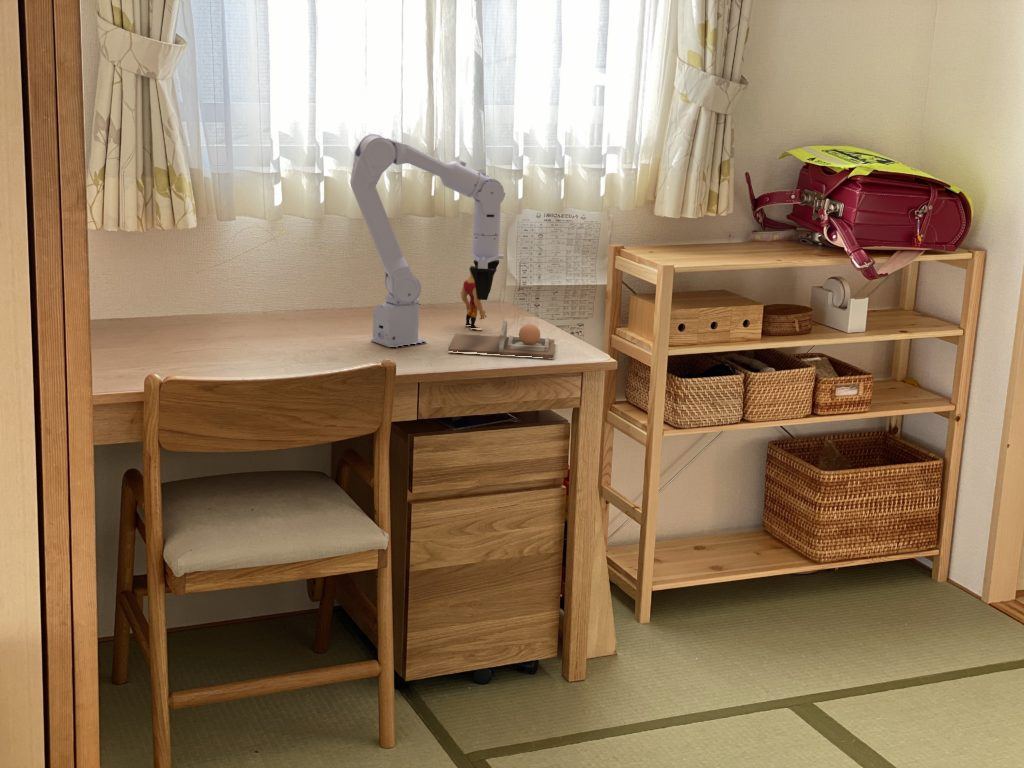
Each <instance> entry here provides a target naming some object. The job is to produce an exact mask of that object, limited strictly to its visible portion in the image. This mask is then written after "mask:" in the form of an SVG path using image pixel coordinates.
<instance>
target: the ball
mask: <svg viewBox="0 0 1024 768" xmlns="http://www.w3.org/2000/svg"><path fill="white" fill-rule="evenodd" d="M518 336H519V338H520V341H521V342H522V343H523V344H525V345H534V344H536V343H537V342H538V341H539V339H540V338H541V331H540V329H539V327H538V326H536V325H535V324H532V323H527V324H524V325H523V326H522V327H521V328H520V329H519V332H518Z"/></svg>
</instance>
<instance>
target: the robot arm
mask: <svg viewBox="0 0 1024 768" xmlns="http://www.w3.org/2000/svg"><path fill="white" fill-rule="evenodd" d="M458 161H459V162H458ZM458 161H457V160H452V161H449V162H446V163H445V162H443V161H441V160H439V159H437V158H436V157H434V156H431V155H429V154H427V153H425V152H424V151H421V150H419V149H418V148H415V147H413V146H411V145H410V144H407V143H404V142H402V141H397V140H395V139H391V138H388V137H382V136H381V135H380V134H375V133H374V134H373V133H370V134H368V135H365V136H364V137H363V138H362V139H361V140H360V141H359V143H358V145H357V147H356V148H355V151H354V157H353V165H352V169H351V174H350V181H349V182H350V184H349V185H350V187H351V189H352V193H353V195H354V197H355V199H356V202H357V205H358V207H359V210H360V212H361V214H362V217H363V220H364V222H365V224H366V227H367V229H368V231H369V234H370V237H371V239H372V241H373V243H374V247H375V249H376V251H377V254H378V256H379V259H380V261H381V264H382V265H381V266H382V269H383V272H384V286H385V289H386V290H387V291H388V294H387V295H386V297H385V301H384V302H383V303H381V304H380V303H379V304H378V305H376V306H375V308H374V310H373V313H372V315H373V316H372V338H370V341H371V342H373V343H377V344H378V345H382V346H385V347H387V348H390V347H396V348H399V347H398V346H402V347H404V346H403V345H408V346H410V345H409V344H414V343H420V342H426V341H427V340H426V339H423V338H421V337H419V326H420V325H419V322H420V314H419V313H420V299H419V297H420V296H421V293H422V285H421V282H420V280H419V278H418V277H417V276H415V275H414V274H413V272H412V271H411V268H410V266H409V265H408V263H407V260H406V258H405V257H404V254H403V252H402V250H401V247H400V244H399V241H398V240H397V236H396V235H395V232H394V230H393V227H392V225H391V222H390V220H389V217H388V215H387V212H386V209H385V207H384V205H383V202H382V199H381V197H380V195H379V192H378V190H377V189H378V188H377V184H378V182H379V181H380V179H381V176H382V175H383V173H385V171H386V170H388V168H389V167H391V166H392V164H394V165H396V166H399V165H403V164H409V165H411V166H414V167H416V168H418V169H421V170H423V171H426V172H428V173H430V174H433V175H435V176H437V177H439V178H440V179H441V183H442V185H443V186H444V187H446V188H448V189H450V190H452V191H455V192H456V193H459V194H461V195H464V196H466V197H468V198H473V200H474V208H473V209H474V211H473V226H472V228H473V229H472V247H471V248H472V249H471V251H472V252H471V254H470V257H471V259H473V264H474V265H475V266H473V265H470V267H469V268H470V270H469V272H470V271H471V273H472V275H473V278H474V282H475V287H476V295H477V299H478V300H481V301H487V300H488V299H489V294H490V293H491V290H492V285H493V280H494V277H495V274H496V272H497V270H498V269H497V268H498V266H499V264H500V260H503V259H505V254H502V253H501V254H500V253H499V252H500V237H501V236H500V235H501V234H500V232H501V204H502V202H503V201H504V200H505V197H506V192H505V190H504V187H503V186H504V185H502V183H501V182H500V181H499V180H497V179H496V178H493V177H491V176H489V175H487V172H484V171H483V170H480V171H478V170H476V169H474V168H471V167H470V166H467V162H466V161H463V160H458ZM426 343H427V342H426Z"/></svg>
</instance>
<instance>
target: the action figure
mask: <svg viewBox="0 0 1024 768" xmlns="http://www.w3.org/2000/svg"><path fill="white" fill-rule="evenodd" d="M472 266H475V264H474V265H472ZM468 270H469V274H470V276H468V277H467V279H466V280H465V281H464V282H463V284H462V288H461V292H460V298H461V300H462V302H463V303H464V304H465V308H466V311H467V313H466V316H465V325H471V326H469V327H470V328H479V327H478V326H476V323H475V322H476V320H477V316H478V311H479V316H480V318H479V320H485V318H487V315H486V310H483V303H482V300H478V299H477V295H476V287H475V282H474V278H473V275H472V273H471V271H470V267H469V268H468ZM467 296H469V299H468V297H467ZM474 324H475V325H474ZM470 328H469V329H470Z"/></svg>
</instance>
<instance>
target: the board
mask: <svg viewBox="0 0 1024 768" xmlns="http://www.w3.org/2000/svg"><path fill="white" fill-rule="evenodd" d="M507 333H508V320H503V322H502V326H501V330H500V333H499V335H483V334H479V335H478V334H464V333H454V335H453V338H452V339H451V342H450V345H449V346H448V351H453V352H457V351H458V352H477V353H487V354H500V355H515V356H532V357H543V358H553V357H554V355H555V354H554V353H555V344H554V343H555V341H556V340H555V339H554V338H553V339H551V338H550V337H540V339H539V341H538V342H537V343H536V344H534V345H525V344H523V343H522V342H521V341H520V338H519V335H509V336H508V335H507ZM448 351H447V352H448ZM553 359H554V358H553Z"/></svg>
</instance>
